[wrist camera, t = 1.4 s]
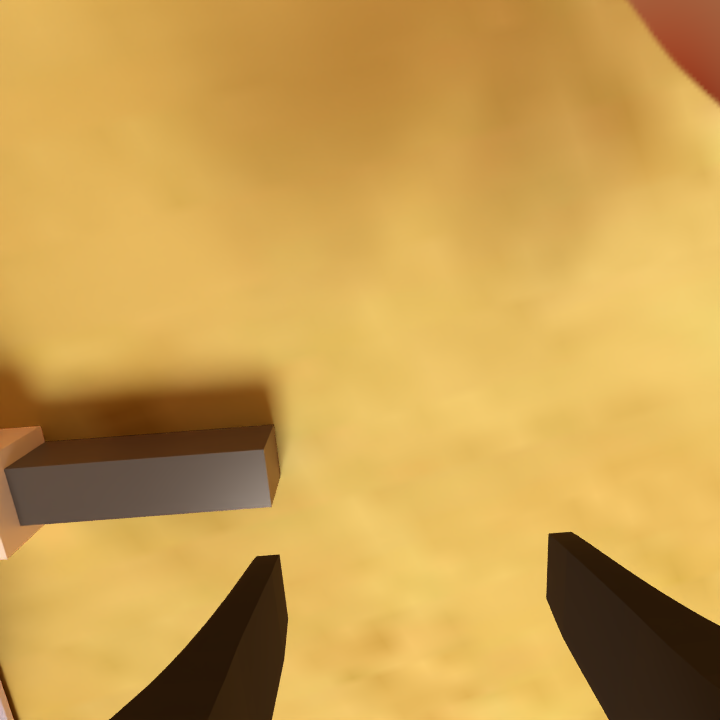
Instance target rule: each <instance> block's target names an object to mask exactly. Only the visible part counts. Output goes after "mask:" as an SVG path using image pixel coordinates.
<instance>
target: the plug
mask: <svg viewBox="0 0 720 720" xmlns="http://www.w3.org/2000/svg"><path fill="white" fill-rule="evenodd" d="M279 479H280V469H279V461H278V453H277V446H276V438H275V430H274V425H262V426H249V427H235V428H222V429H209V430H196V431H182V432H169V433H156V434H143V435H129V436H116V437H103V438H90V439H76V440H63V441H50V442H45V440H44V437H43V433H42V429H41V426H33V427H19V428H6V429H0V560H2V559H8V558H9V557H10V556H11V555H12V554H13V553H14V552H15V551H17V550H18V549H19V548H20V547H21V546H22V545H23V544H24V543H25V542H26V541H27V540H28V539H29V538H31V537H32V536H33V535H34V534H35V533H36V532H37V531H38V530H39V529H40V528H41V527H42V526H43V525H44V524H54V523H67V522H80V521H93V520H106V519H119V518H132V517H146V516H159V515H172V514H185V513H198V512H211V511H224V510H237V509H250V508H263V507H272V503H273V500H274V496H275V493H276V490H277V486H278V483H279Z"/></svg>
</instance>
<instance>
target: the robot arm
mask: <svg viewBox="0 0 720 720" xmlns="http://www.w3.org/2000/svg"><path fill="white" fill-rule="evenodd" d="M546 598H547V601H548V603H549V606H550V608H551V611H552V613H553V616H554V618H555V621H556V623H557V625H558V628H559V630H560V632H561V634H562V637H563V639H564V641H565V642H566V644H567V646H568V648H569V650H570V651H571V653H572V655H573V657H574V659H575V660H576V662H577V664H578V666H579V668H580V669H581V671H582V673H583V675H584V677H585V678H586V680H587V682H588V684H589V685H590V687H591V689H592V691H593V692H594V694H595V696H596V698H597V699H598V701H599V703H600V705H601V707H602V708H603V710H604V712H605V714H606V715H607V717H608V719H609V720H720V626H719V625H717V624H715V623H713V622H711V621H710V620H708V619H706V618H704V617H702V616H701V615H699V614H697V613H695V612H693V611H692V610H690V609H688V608H687V607H685V606H683V605H682V604H680V603H678V602H677V601H675V600H673V599H672V598H670V597H669V596H667V595H665V594H664V593H662V592H660V591H659V590H657V589H656V588H654V587H653V586H651V585H649V584H648V583H646V582H645V581H643V580H642V579H640V578H639V577H637V576H636V575H634V574H633V573H631V572H630V571H628V570H627V569H625V568H624V567H622V566H621V565H619V564H618V563H617V562H615V561H614V560H612V559H611V558H609V557H608V556H606V555H605V554H603V553H602V552H601V551H599V550H598V549H596V548H595V547H593V546H592V545H591V544H589V543H588V542H586V541H585V540H583V539H582V538H580V537H579V536H577V535H576V534H574V533H572V532H564V533H551V534H549V537H548V565H547V593H546ZM287 624H288V614H287V607H286V600H285V592H284V585H283V577H282V570H281V563H280V555H268V556H257V557H256V558H255V559H254V560H253V561H252V563H251V564H250V565H249V567H248V568H247V570H246V571H245V572H244V574H243V575H242V577H241V578H240V579H239V581H238V582H237V584H236V585H235V586H234V588H233V589H232V590H231V592H230V593H229V594H228V596H227V597H226V598H225V600H224V601H223V602H222V603H221V605H220V606H219V607H218V609H217V610H216V611H215V613H214V614H213V615H212V616H211V618H210V619H209V620H208V621H207V623H206V624H205V625H204V626H203V627H202V628H201V630H200V631H199V632H198V633H197V634H196V635H195V637H194V638H193V639H192V640H191V641H190V642H189V644H188V645H187V646H186V647H185V648H184V649H183V650H182V651H181V652H180V654H179V655H178V656H177V657H176V658H175V659H174V660H173V661H172V662H171V663H170V664H169V665H168V666H167V667H166V668H165V669H164V670H163V671H162V672H161V673H160V674H159V675H158V676H157V677H156V678H155V679H154V680H153V681H152V682H151V683H150V684H149V685H148V686H147V687H146V688H145V689H144V690H142V691H141V692H140V693H139V694H138V695H137V696H136V697H135V698H133V699H132V700H131V701H130V702H129V703H128V704H127V705H126V706H124V707H123V708H122V709H121V710H120V711H119V712H118V713H116V714H115V715H114V716H113V717H112V718H111V719H109V720H272V716H273V711H274V706H275V701H276V697H277V692H278V687H279V682H280V677H281V672H282V667H283V662H284V655H285V646H286V635H287ZM0 720H14V719H13V716H12V713H11V710H10V707H9V704H8V701H7V698H6V695H5V692H4V689H3V686H2V683H1V680H0Z"/></svg>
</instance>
